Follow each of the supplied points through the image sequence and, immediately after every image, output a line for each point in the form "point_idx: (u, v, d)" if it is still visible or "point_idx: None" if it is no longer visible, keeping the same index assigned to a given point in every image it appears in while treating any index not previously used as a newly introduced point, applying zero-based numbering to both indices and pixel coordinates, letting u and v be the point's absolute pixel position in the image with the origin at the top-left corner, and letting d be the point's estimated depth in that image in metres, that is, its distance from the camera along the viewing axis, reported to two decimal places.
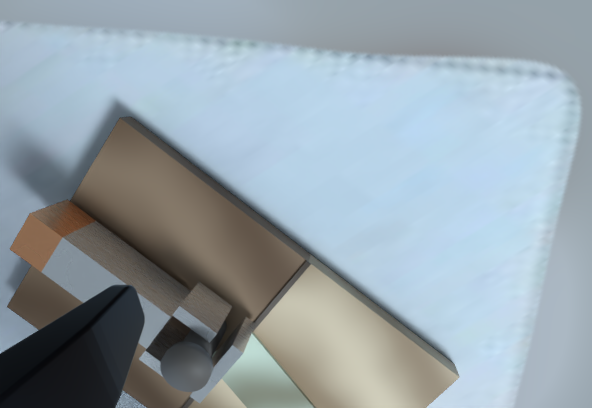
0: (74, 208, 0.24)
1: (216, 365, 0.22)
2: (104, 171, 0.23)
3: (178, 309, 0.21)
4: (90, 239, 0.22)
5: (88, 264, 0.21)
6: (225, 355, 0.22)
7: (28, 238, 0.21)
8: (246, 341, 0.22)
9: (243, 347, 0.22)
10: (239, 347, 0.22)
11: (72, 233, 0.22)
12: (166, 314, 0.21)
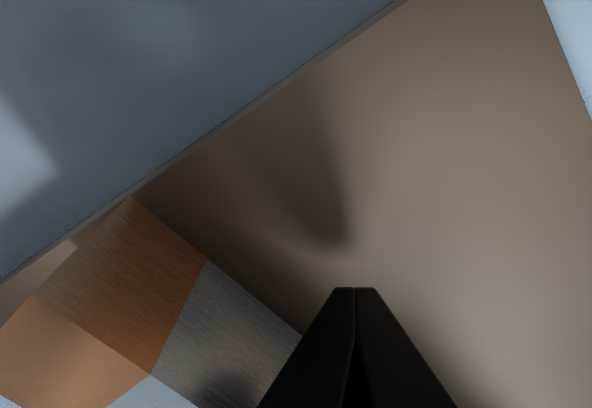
0: (152, 226, 0.08)
1: None
2: (349, 99, 0.07)
3: None
4: (215, 343, 0.07)
5: None
6: None
7: (26, 357, 0.06)
8: None
9: None
10: None
11: (167, 335, 0.07)
12: None
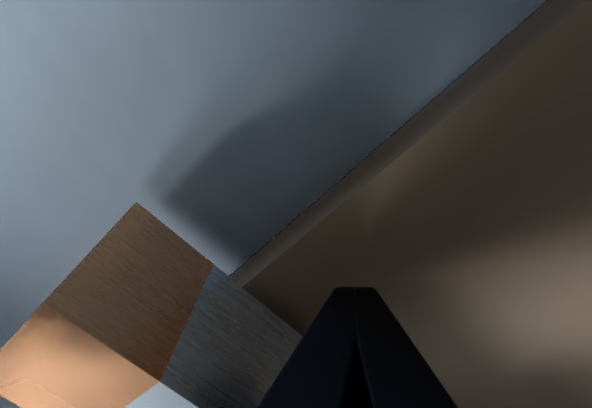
0: (159, 232, 0.08)
1: None
2: None
3: None
4: (223, 349, 0.07)
5: None
6: None
7: (37, 365, 0.06)
8: None
9: None
10: None
11: (176, 341, 0.07)
12: None
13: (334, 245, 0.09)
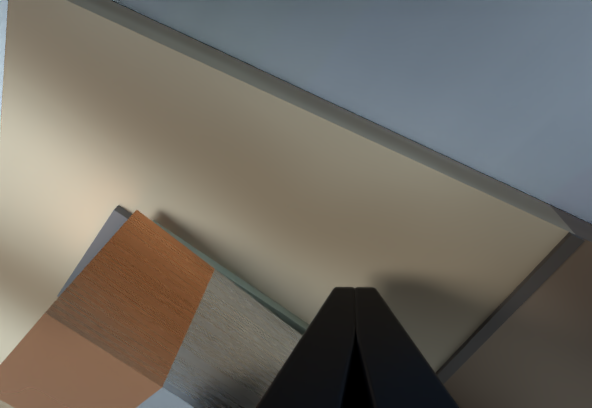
0: (160, 239, 0.08)
1: None
2: None
3: None
4: (225, 353, 0.08)
5: None
6: None
7: (42, 374, 0.06)
8: None
9: None
10: None
11: (178, 347, 0.07)
12: None
13: None
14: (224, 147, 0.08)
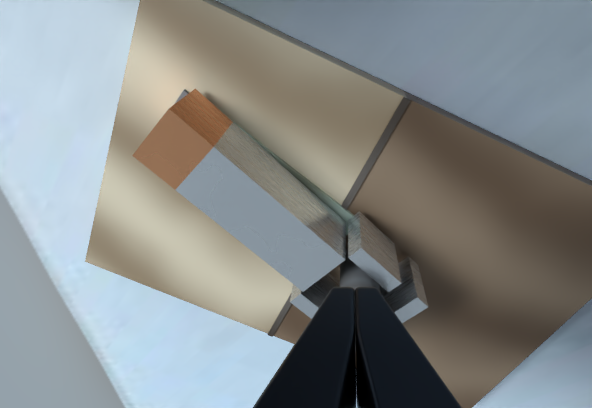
0: (206, 102, 0.17)
1: None
2: (487, 377, 0.24)
3: (358, 252, 0.16)
4: (239, 150, 0.16)
5: (245, 186, 0.16)
6: (404, 307, 0.18)
7: (162, 143, 0.15)
8: (423, 290, 0.18)
9: (425, 299, 0.18)
10: (422, 299, 0.18)
11: (218, 140, 0.16)
12: (339, 256, 0.17)
13: (514, 166, 0.18)
14: (238, 55, 0.17)
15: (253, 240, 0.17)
